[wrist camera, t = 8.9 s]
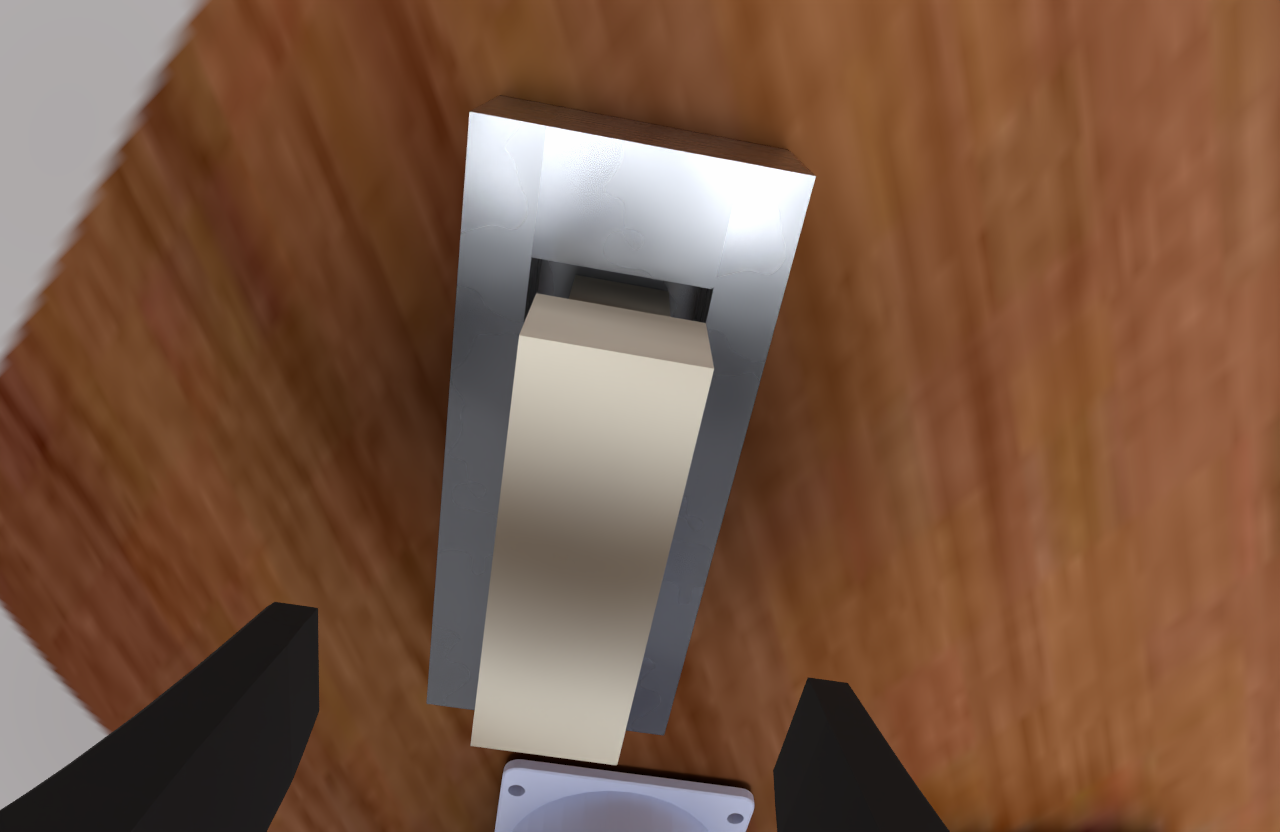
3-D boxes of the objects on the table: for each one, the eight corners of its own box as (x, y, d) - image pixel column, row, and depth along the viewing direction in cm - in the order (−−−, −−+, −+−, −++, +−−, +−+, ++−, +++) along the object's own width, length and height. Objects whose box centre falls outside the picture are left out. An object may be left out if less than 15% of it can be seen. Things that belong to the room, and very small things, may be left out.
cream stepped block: (624, 602, 20) (617, 765, 16) (510, 585, 20) (470, 745, 16) (696, 273, 16) (714, 368, 12) (555, 247, 16) (518, 334, 12)
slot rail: (662, 650, 23) (664, 735, 20) (453, 620, 22) (426, 703, 19) (788, 149, 16) (815, 175, 14) (499, 94, 16) (469, 112, 13)
